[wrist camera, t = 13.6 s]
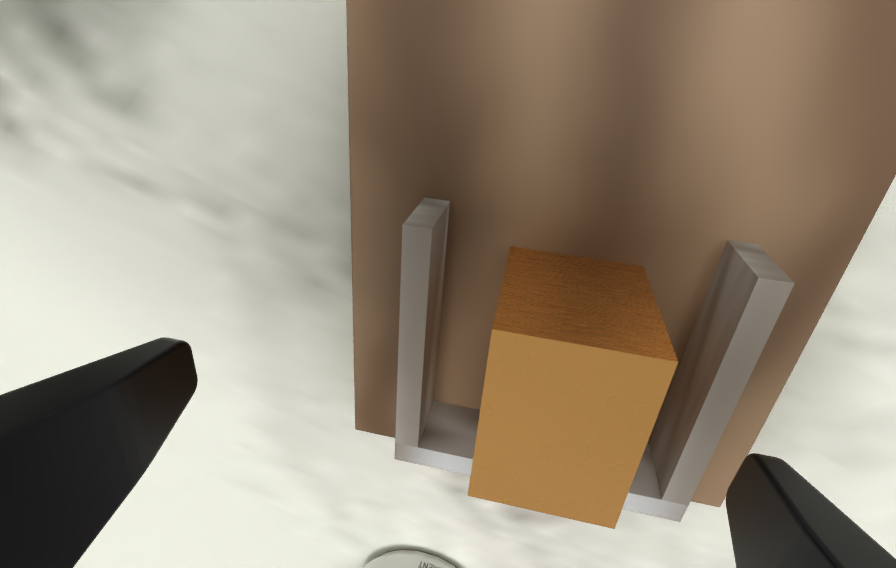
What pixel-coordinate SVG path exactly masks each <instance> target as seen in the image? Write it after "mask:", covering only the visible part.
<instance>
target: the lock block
mask: <svg viewBox="0 0 896 568" xmlns="http://www.w3.org/2000/svg"><path fill="white" fill-rule="evenodd" d="M677 364H678V360H677V357H676V354H675V352H674V349H673V346H672V343H671V341H670V338H669V335H668V332H667V330H666V327H665V324H664V321H663V319H662V316H661V313H660V310H659V308H658V305H657V302H656V299H655V297H654V294H653V291H652V288H651V286H650V283H649V280H648V277H647V275H646V272H645V269H644V266H638V265H631V264H625V263H618V262H611V261H605V260H598V259H592V258H585V257H578V256H572V255H565V254H559V253H552V252H546V251H539V250H532V249H526V248H519V247H513V246H510V250H509V255H508V259H507V264H506V268H505V273H504V277H503V282H502V286H501V291H500V295H499V300H498V304H497V309H496V313H495V318H494V322H493V327H492V332H491V339H490V346H489V353H488V359H487V366H486V373H485V380H484V387H483V394H482V401H481V408H480V414H479V421H478V428H477V435H476V442H475V449H474V456H473V463H472V469H471V476H470V483H469V490H468V496H472V497H476V498H481V499H485V500H490V501H494V502H498V503H503V504H507V505H512V506H516V507H520V508H525V509H529V510H534V511H538V512H542V513H547V514H551V515H556V516H560V517H564V518H569V519H573V520H578V521H582V522H586V523H591V524H595V525H600V526H604V527H608V528H613V529H615V526H616V523H617V521H618V518H619V516H620V513H621V510H622V508H623V505H624V502H625V500H626V497H627V495H628V492H629V489H630V487H631V484H632V482H633V479H634V476H635V474H636V471H637V469H638V466H639V463H640V461H641V458H642V456H643V453H644V450H645V448H646V445H647V442H648V440H649V437H650V435H651V432H652V429H653V427H654V424H655V422H656V419H657V416H658V414H659V411H660V409H661V406H662V403H663V401H664V398H665V395H666V393H667V390H668V388H669V385H670V382H671V380H672V377H673V375H674V372H675V369H676V367H677Z"/></svg>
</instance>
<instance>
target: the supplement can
mask: <svg viewBox="0 0 896 568" xmlns="http://www.w3.org/2000/svg"><path fill="white" fill-rule="evenodd" d="M363 568H456V567H455V566H454V565H452V564H450V563H448V562H446V561H445V560H443V559H441V558H439V557H437V556H433V555H430V554H427V553H424V552H420V551H410V550H397V551H392V552H387V553H385V554H383V555H382V556H380V557H377V558H375V559H373V560H372V561H370V562H368V563H367V564H365V565H364V566H363Z"/></svg>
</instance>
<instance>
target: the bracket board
mask: <svg viewBox="0 0 896 568" xmlns="http://www.w3.org/2000/svg"><path fill="white" fill-rule="evenodd" d="M346 5H347V53H348V100H349V147H350V194H351V241H352V288H353V336H354V383H355V429H356V430H361V431H366V432H370V433H375V434H380V435H384V436H389V437H394V438H395V459H397V460H402V461H406V462H411V463H415V464H420V465H424V466H429V467H433V468H438V469H443V470H447V471H452V472H456V473H461V474H465V475H470V476H471V469H472V463H473V456H474V449H475V442H476V435H477V428H478V421H479V414H480V408H481V401H482V394H483V387H484V380H485V373H486V366H487V359H488V353H489V346H490V339H491V332H492V327H493V322H494V318H495V313H496V309H497V304H498V300H499V295H500V291H501V286H502V282H503V277H504V273H505V268H506V264H507V259H508V255H509V250H510V246H513V247H519V248H526V249H532V250H539V251H546V252H552V253H559V254H565V255H572V256H578V257H585V258H592V259H598V260H605V261H611V262H618V263H625V264H631V265H638V266H644V269H645V272H646V275H647V277H648V280H649V283H650V286H651V288H652V291H653V294H654V297H655V299H656V302H657V305H658V308H659V310H660V313H661V316H662V319H663V321H664V324H665V327H666V330H667V332H668V335H669V338H670V341H671V343H672V346H673V349H674V352H675V354H676V357H677V360H678V364H677V367H676V369H675V372H674V375H673V377H672V380H671V382H670V385H669V388H668V390H667V393H666V395H665V398H664V401H663V403H662V406H661V409H660V411H659V414H658V416H657V419H656V422H655V424H654V427H653V429H652V432H651V435H650V437H649V440H648V442H647V445H646V448H645V450H644V453H643V456H642V458H641V461H640V463H639V466H638V469H637V471H636V474H635V476H634V479H633V482H632V484H631V487H630V489H629V492H628V495H627V497H626V500H625V502H624V505H623V508H622V509H624V510H629V511H633V512H638V513H642V514H647V515H651V516H656V517H660V518H665V519H669V520H674V521H679V522H680V521H681V519H682V517H683V515H684V513H685V511H686V509H687V507H688V505H689V503H690V501H693V502H697V503H702V504H707V505H712V506H716V507H720V506H721V504H722V502H723V500H724V499H725V497H726V493H727V490H728V487H729V485H730V484H731V482H732V480H733V478H734V476H735V475H736V473H737V471H738V469H739V468H740V466H741V464H742V462H743V460H744V459H745V458H746V456H747V455H748V453H749V451H750V449H751V447H752V446H753V444H754V442H755V440H756V438H757V436H758V434H759V432H760V430H761V429H762V427H763V425H764V423H765V421H766V419H767V417H768V415H769V413H770V412H771V410H772V408H773V406H774V404H775V402H776V400H777V398H778V396H779V395H780V393H781V391H782V389H783V387H784V385H785V383H786V381H787V379H788V378H789V376H790V374H791V372H792V370H793V368H794V366H795V364H796V362H797V361H798V359H799V357H800V355H801V353H802V351H803V349H804V347H805V345H806V344H807V342H808V340H809V338H810V336H811V334H812V332H813V330H814V328H815V326H816V325H817V323H818V321H819V319H820V317H821V315H822V313H823V311H824V309H825V308H826V306H827V304H828V302H829V300H830V298H831V296H832V294H833V292H834V291H835V289H836V287H837V285H838V283H839V281H840V279H841V277H842V275H843V274H844V272H845V270H846V268H847V266H848V264H849V262H850V260H851V258H852V257H853V255H854V253H855V251H856V249H857V247H858V245H859V243H860V241H861V240H862V238H863V236H864V234H865V232H866V230H867V228H868V226H869V224H870V223H871V221H872V219H873V217H874V215H875V213H876V211H877V209H878V207H879V205H880V204H881V202H882V200H883V198H884V196H885V194H886V192H887V190H888V188H889V187H890V185H891V183H892V181H893V179H894V177H895V175H896V0H346Z"/></svg>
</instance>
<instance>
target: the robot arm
mask: <svg viewBox="0 0 896 568" xmlns="http://www.w3.org/2000/svg"><path fill="white" fill-rule="evenodd" d="M197 380H198V379H197V373H196V369H195V364H194V359H193V355H192V350H191V347H190V345H189V344H188V343H187V342H185V341H182V340H177V339H172V338H159V339H156V340H153V341H150V342H148V343H145V344H142V345H139V346H136V347H134V348H131V349H128V350H125V351H122V352H120V353H117V354H114V355H111V356H108V357H106V358H103V359H100V360H97V361H94V362H92V363H89V364H86V365H83V366H80V367H78V368H75V369H72V370H69V371H66V372H64V373H61V374H58V375H55V376H52V377H50V378H47V379H44V380H41V381H38V382H35V383H33V384H30V385H27V386H24V387H21V388H19V389H16V390H13V391H10V392H7V393H5V394H2V395H0V568H73V567H74V566H75V564H76V563H77V562H78V560H79V559H80V558H81V556H82V555H83V554H84V552H85V551H86V550H87V548H88V547H89V546H90V545H91V543H92V542H93V541H94V539H95V538H96V537H97V535H98V534H99V533H100V531H101V530H102V529H103V527H104V526H105V525H106V523H107V522H108V521H109V519H110V518H111V517H112V515H113V514H114V513H115V511H116V510H117V509H118V507H119V506H120V505H121V504H122V502H123V501H124V500H125V498H126V497H127V496H128V494H129V493H130V492H131V490H132V489H133V488H134V486H135V485H136V484H137V482H138V481H139V479H140V478H141V477H142V475H143V474H144V472H145V471H146V469H147V468H148V466H149V465H150V463H151V462H152V460H153V459H154V457H155V456H156V454H157V452H158V451H159V449H160V448H161V446H162V444H163V443H164V441H165V440H166V438H167V436H168V435H169V433H170V431H171V430H172V428H173V427H174V425H175V423H176V422H177V420H178V418H179V417H180V415H181V414H182V412H183V410H184V409H185V407H186V406H187V404H188V402H189V401H190V399H191V397H192V396H193V394H194V392H195V390H196V387H197ZM726 508H727V514H728V520H729V526H730V532H731V538H732V544H733V550H734V556H735V562H736V568H896V559H895V558H894V557H893V556H892V555H891V554H889V553H888V552H887V551H886V550H885V549H884V548H883V547H882V546H880V545H879V544H878V543H877V542H876V541H875V540H874V539H872V538H871V537H870V536H869V535H868V534H867V533H866V532H865V531H863V530H862V529H861V528H860V527H859V526H858V525H857V524H855V523H854V522H853V521H852V520H851V519H850V518H849V517H848V516H846V515H845V514H844V513H843V512H842V511H841V510H840V509H838V508H837V507H836V506H835V505H834V504H833V503H832V502H830V501H829V500H828V499H827V498H826V497H825V496H824V495H823V494H821V493H820V492H819V491H818V490H817V489H816V488H815V487H813V486H812V485H811V484H810V483H809V482H808V481H807V480H806V479H804V478H803V477H802V476H801V475H800V474H799V473H798V472H796V471H795V470H794V469H793V468H792V467H791V466H790V465H788V464H787V463H786V462H785V461H783V460H782V459H779V458H777V457H772V456H766V455H761V454H756V453H753V454H749V455H748V456H746V458H745V459H744V460H743V462H742V464H741V466H740V468H739V469H738V471H737V473H736V475H735V476H734V478H733V480H732V482H731V484H730V485H729V487H728V490H727V493H726Z"/></svg>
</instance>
